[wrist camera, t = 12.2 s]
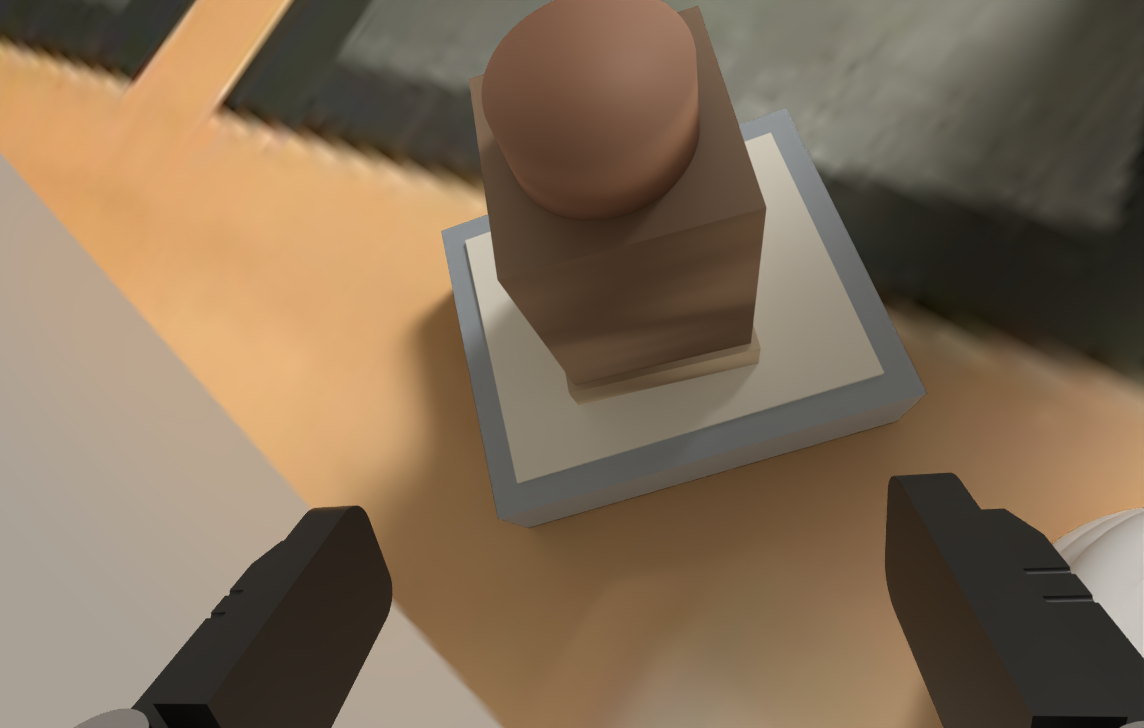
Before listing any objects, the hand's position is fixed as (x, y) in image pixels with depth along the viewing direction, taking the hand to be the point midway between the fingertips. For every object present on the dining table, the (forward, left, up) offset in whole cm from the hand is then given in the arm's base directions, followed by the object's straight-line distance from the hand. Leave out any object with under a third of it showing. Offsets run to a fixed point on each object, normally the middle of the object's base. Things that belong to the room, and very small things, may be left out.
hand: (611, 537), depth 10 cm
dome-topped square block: (-2, -7, -7) cm, 10 cm away
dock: (-2, -7, -10) cm, 13 cm away
